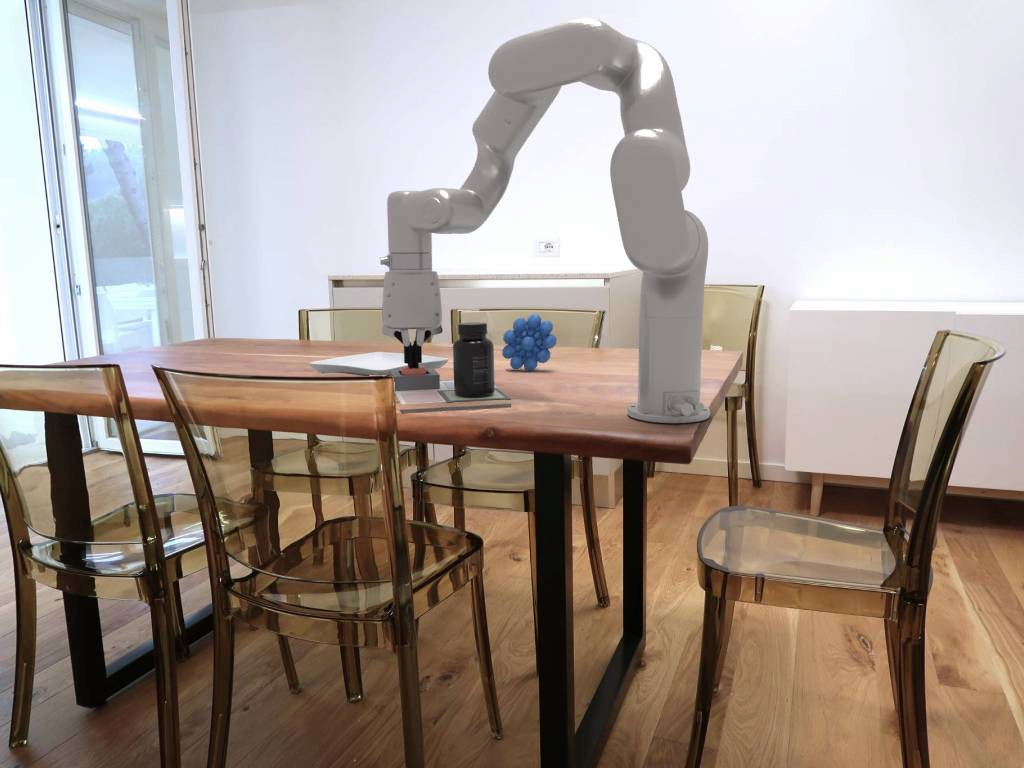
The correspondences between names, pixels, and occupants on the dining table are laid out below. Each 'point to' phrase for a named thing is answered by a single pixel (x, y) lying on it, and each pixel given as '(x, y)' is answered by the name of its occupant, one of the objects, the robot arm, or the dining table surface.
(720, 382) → the dining table surface
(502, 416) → the dining table surface
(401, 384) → the button housing
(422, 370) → the button
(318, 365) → the salad plate
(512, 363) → the grapes
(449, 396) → the printed board
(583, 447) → the dining table surface
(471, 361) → the supplement bottle
